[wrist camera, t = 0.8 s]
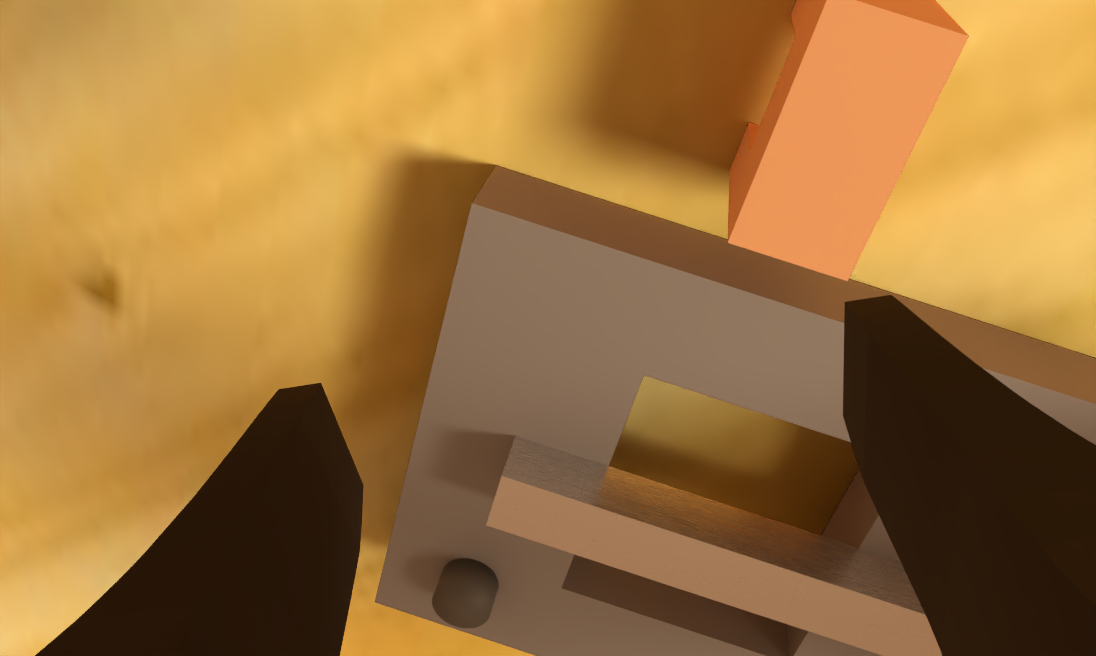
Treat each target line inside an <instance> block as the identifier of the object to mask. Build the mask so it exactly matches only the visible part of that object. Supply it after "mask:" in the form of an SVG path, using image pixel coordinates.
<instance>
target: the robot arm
mask: <svg viewBox="0 0 1096 656" xmlns="http://www.w3.org/2000/svg"><path fill="white" fill-rule="evenodd" d="M843 418H844V421H845V424H846V428H847V431H848V434H849V438H850V441H851V444H852V447H853V451H854V454H855V457H856V460H857V463H858V466H859V469H860V472H861V475H862V478H863V481H864V483H865V486H866V488H867V490H868V492H869V494H870V497H871V499H872V501H873V503H874V505H875V508H876V510H877V512H878V514H879V516H880V518H881V521H882V523H883V525H884V527H885V529H886V531H887V534H888V536H889V538H890V540H891V542H892V544H893V546H894V549H895V551H896V553H897V555H898V557H899V559H900V561H901V564H902V566H903V568H904V570H905V572H906V574H907V576H908V579H909V581H910V583H911V585H912V587H913V589H914V591H915V593H916V596H917V598H918V600H919V602H920V604H921V606H922V608H923V611H924V613H925V615H926V617H927V619H928V622H929V624H930V626H931V629H932V631H933V634H934V636H935V638H936V641H937V643H938V646H939V648H940V651H941V653H942V656H1096V445H1095V444H1093V443H1091V442H1090V441H1088V440H1086V439H1085V438H1083V437H1082V436H1080V435H1078V434H1077V433H1075V432H1073V431H1072V430H1070V429H1069V428H1067V427H1065V426H1064V425H1062V424H1061V423H1059V422H1058V421H1056V420H1055V419H1053V418H1052V417H1050V416H1049V415H1047V414H1046V413H1044V412H1043V411H1041V410H1040V409H1038V408H1037V407H1035V406H1034V405H1032V404H1031V403H1029V402H1028V401H1026V400H1025V399H1024V398H1022V397H1021V396H1019V395H1018V394H1017V393H1015V392H1014V391H1012V390H1011V389H1010V388H1008V387H1007V386H1006V385H1004V384H1003V383H1002V382H1000V381H999V380H998V379H996V378H995V377H994V376H992V375H991V374H990V373H988V372H987V371H986V370H984V369H983V368H982V367H980V366H979V365H978V364H976V363H975V362H974V361H973V360H971V359H970V358H969V357H968V356H966V355H965V354H964V353H962V352H961V351H960V350H959V349H957V348H956V347H955V346H954V345H953V344H951V343H950V342H949V341H948V340H946V339H945V338H944V337H943V336H941V335H940V334H939V333H938V332H937V331H935V330H934V329H933V328H932V327H930V326H929V325H928V324H927V323H926V322H924V321H923V320H922V319H921V318H920V317H918V316H917V315H916V314H915V313H914V312H912V311H911V310H910V309H909V308H907V307H906V306H905V305H904V304H903V303H901V302H900V301H899V300H898V299H896V298H895V297H894V296H892V295H886V296H879V297H873V298H866V299H860V300H853V301H847V302H845V307H844V371H843ZM362 503H363V483H362V481H361V478H360V476H359V474H358V471H357V469H356V466H355V464H354V462H353V459H352V457H351V454H350V452H349V450H348V447H347V445H346V442H345V440H344V437H343V435H342V433H341V430H340V428H339V425H338V423H337V421H336V418H335V416H334V413H333V411H332V409H331V406H330V404H329V401H328V399H327V396H326V394H325V392H324V389H323V387H322V384H321V383H317V384H310V385H304V386H297V387H291V388H285V389H279V390H278V391H277V392H276V393H275V395H274V396H273V397H272V398H271V399H270V401H269V402H268V403H267V404H266V406H265V407H264V408H263V410H262V411H261V412H260V413H259V415H258V416H257V417H256V419H255V420H254V421H253V422H252V424H251V425H250V426H249V428H248V429H247V430H246V432H245V433H244V434H243V435H242V437H241V438H240V439H239V441H238V442H237V443H236V445H235V446H234V447H233V448H232V450H231V451H230V452H229V454H228V455H227V456H226V457H225V459H224V460H223V461H222V462H221V464H220V465H219V466H218V467H217V469H216V470H215V471H214V472H213V474H212V475H211V476H210V477H209V479H208V480H207V481H206V482H205V484H204V485H203V486H202V487H201V489H200V490H199V491H198V492H197V494H196V495H195V496H194V497H193V498H192V500H191V501H190V502H189V503H188V504H187V505H186V506H185V508H184V509H183V510H182V511H181V512H180V513H179V514H178V516H177V517H176V518H175V519H174V520H173V521H172V522H171V524H170V525H169V526H168V527H167V528H166V529H165V530H164V532H163V533H162V534H161V535H160V536H159V537H158V538H157V540H156V541H155V542H154V543H153V544H152V545H151V546H150V548H149V549H148V550H147V551H146V552H145V553H144V554H143V555H142V556H141V557H140V558H139V560H138V561H137V562H136V563H135V564H134V565H133V566H132V567H131V568H130V569H129V570H128V571H127V572H126V573H125V574H124V575H123V576H122V577H121V578H120V579H119V580H118V581H117V582H116V583H115V584H114V585H113V586H112V587H111V588H110V589H109V590H108V591H107V592H106V593H105V594H104V595H103V596H102V597H101V598H100V599H99V600H97V601H96V602H95V603H94V604H93V605H92V606H91V607H90V608H89V609H88V610H87V611H86V612H85V613H84V614H83V615H82V616H81V617H79V618H78V619H77V620H76V621H75V622H74V623H73V624H72V625H70V626H69V627H68V628H67V629H66V630H65V631H63V632H62V633H61V634H60V635H59V636H58V637H56V638H55V639H54V640H53V641H52V642H51V643H49V644H48V645H47V646H46V647H45V648H44V649H42V650H41V651H40V652H39V653H38V654H36V655H35V656H340V651H341V646H342V641H343V636H344V631H345V626H346V621H347V615H348V610H349V605H350V600H351V595H352V590H353V584H354V579H355V574H356V568H357V563H358V557H359V552H360V539H361V525H362Z"/></svg>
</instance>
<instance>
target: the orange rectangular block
mask: <svg viewBox="0 0 1096 656" xmlns="http://www.w3.org/2000/svg"><path fill="white" fill-rule="evenodd" d="M791 18H792V23H793V27H794V31H795V36H796V37H795V39H794V42H793V44H792V47H791V49H790V52H789V54H788V57H787V59H786V62H785V64H784V67H783V69H782V72H781V74H780V77H779V79H778V82H777V84H776V87H775V89H774V92H773V94H772V97H771V99H770V102H769V104H768V107H767V109H766V112H765V114H764V117H763V119H762V122H761V124H760V126H759V125H756V124H753V123H750V122H749V123H748V125H747V128H746V131H745V133H744V136H743V138H742V141H741V143H740V146H739V148H738V151H737V154H736V156H735V159H734V161H733V164H732V166H731V169H730V173H729V213H728V243H730V244H733V245H736V246H739V247H743V248H746V249H749V250H752V251H755V252H758V253H761V254H764V255H767V256H771V257H774V258H777V259H780V260H783V261H786V262H789V263H792V264H795V265H799V266H802V267H805V268H808V269H811V270H814V271H817V272H820V273H823V274H826V275H830V276H833V277H836V278H839V279H842V280H845V281H848V279H849V277H850V275H851V273H852V271H853V269H854V267H855V265H856V263H857V261H858V259H859V257H860V255H861V253H862V251H863V249H864V247H865V245H866V243H867V241H868V239H869V237H870V235H871V233H872V231H873V229H874V227H875V225H876V223H877V221H878V219H879V217H880V215H881V213H882V211H883V209H884V207H885V205H886V203H887V201H888V199H889V197H890V194H891V192H892V190H893V188H894V186H895V184H896V182H897V180H898V178H899V176H900V174H901V172H902V170H903V168H904V166H905V164H906V162H907V160H908V158H909V156H910V154H911V152H912V150H913V148H914V146H915V144H916V142H917V140H918V138H919V136H920V134H921V132H922V130H923V128H924V126H925V124H926V122H927V120H928V118H929V116H930V114H931V112H932V110H933V108H934V106H935V104H936V102H937V99H938V97H939V95H940V93H941V91H942V89H943V87H944V85H945V83H946V81H947V79H948V77H949V75H950V73H951V71H952V69H953V67H954V65H955V63H956V61H957V59H958V57H959V55H960V53H961V51H962V49H963V47H964V45H965V43H966V41H967V39H968V37H969V36H968V35H967V34H966V33H965V31H964V30H963V29H962V28H961V27H960V26H959V25H958V24H957V23H956V22H955V21H954V20H953V19H952V18H951V17H950V16H949V14H948V13H947V12H946V11H945V10H944V9H943V8H942V7H941V6H940V5H939V4H938V3H937V2H936V1H935V0H796V3H795V6H794V8H793V11H792V13H791Z"/></svg>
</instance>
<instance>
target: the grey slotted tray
mask: <svg viewBox="0 0 1096 656" xmlns="http://www.w3.org/2000/svg"><path fill="white" fill-rule="evenodd" d="M886 295H892V296H894V297H895V298H896V299H898V300H899V301H900V302H901V303H903V304H904V305H905V306H906V307H907V308H909V309H910V310H911V311H912V312H914V313H915V314H916V315H917V316H918V317H920V318H921V319H922V320H923V321H924V322H926V323H927V324H928V325H929V326H930V327H932V328H933V329H934V330H935V331H937V332H938V333H939V334H940V335H941V336H943V337H944V338H945V339H946V340H948V341H949V342H950V343H951V344H953V345H954V346H955V347H956V348H957V349H959V350H960V351H961V352H962V353H964V354H965V355H966V356H968V357H969V358H970V359H971V360H973V361H974V362H975V363H976V364H978V365H979V366H980V367H982V368H983V369H984V370H986V371H987V372H988V373H990V374H991V375H992V376H994V377H995V378H996V379H998V380H999V381H1000V382H1002V383H1003V384H1004V385H1006V386H1007V387H1008V388H1010V389H1011V390H1012V391H1014V392H1015V393H1017V394H1018V395H1019V396H1021V397H1022V398H1024V399H1025V400H1026V401H1028V402H1029V403H1031V404H1032V405H1034V406H1035V407H1037V408H1038V409H1040V410H1041V411H1043V412H1044V413H1046V414H1047V415H1049V416H1050V417H1052V418H1053V419H1055V420H1056V421H1058V422H1059V423H1061V424H1062V425H1064V426H1065V427H1067V428H1069V429H1070V430H1072V431H1073V432H1075V433H1077V434H1078V435H1080V436H1082V437H1083V438H1085V439H1086V440H1088V441H1090V442H1091V443H1093V444H1095V445H1096V358H1093V357H1090V356H1087V355H1084V354H1081V353H1078V352H1074V351H1071V350H1068V349H1065V348H1062V347H1059V346H1056V345H1053V344H1050V343H1046V342H1043V341H1040V340H1037V339H1034V338H1031V337H1028V336H1025V335H1022V334H1018V333H1015V332H1012V331H1009V330H1006V329H1003V328H1000V327H997V326H994V325H991V324H987V323H984V322H981V321H978V320H975V319H972V318H969V317H966V316H963V315H959V314H956V313H953V312H950V311H947V310H944V309H941V308H938V307H935V306H931V305H928V304H925V303H922V302H919V301H916V300H913V299H910V298H907V297H903V296H900V295H897V294H894V293H891V292H888V291H885V290H882V289H879V288H875V287H872V286H869V285H866V284H863V283H860V282H857V281H854V280H851V279H848V281H845V280H842V279H839V278H836V277H833V276H830V275H826V274H823V273H820V272H817V271H814V270H811V269H808V268H805V267H802V266H799V265H795V264H792V263H789V262H786V261H783V260H780V259H777V258H774V257H771V256H767V255H764V254H761V253H758V252H755V251H752V250H749V249H746V248H743V247H739V246H736V245H733V244H730V243H728V240H726V239H723V238H720V237H717V236H714V235H711V234H708V233H705V232H701V231H698V230H695V229H692V228H689V227H686V226H683V225H680V224H677V223H673V222H670V221H667V220H664V219H661V218H658V217H655V216H652V215H649V214H645V213H642V212H639V211H636V210H633V209H630V208H627V207H624V206H621V205H617V204H614V203H611V202H608V201H605V200H602V199H599V198H596V197H593V196H590V195H586V194H583V193H580V192H577V191H574V190H571V189H568V188H565V187H562V186H558V185H555V184H552V183H549V182H546V181H543V180H540V179H537V178H534V177H530V176H527V175H524V174H521V173H518V172H515V171H512V170H509V169H506V168H502V167H499V166H496V167H495V168H494V170H493V171H492V173H491V174H490V176H489V177H488V179H487V180H486V182H485V183H484V185H483V187H482V188H481V190H480V191H479V193H478V194H477V196H476V197H475V199H474V200H473V202H472V204H471V208H470V212H469V217H468V221H467V225H466V229H465V233H464V237H463V241H462V245H461V249H460V254H459V258H458V262H457V266H456V270H455V274H454V278H453V282H452V287H451V291H450V295H449V299H448V303H447V307H446V311H445V315H444V319H443V324H442V328H441V332H440V336H439V340H438V344H437V348H436V352H435V356H434V361H433V365H432V369H431V373H430V377H429V381H428V385H427V389H426V393H425V398H424V402H423V406H422V410H421V414H420V418H419V422H418V426H417V430H416V435H415V439H414V443H413V447H412V451H411V455H410V459H409V463H408V468H407V472H406V476H405V480H404V484H403V488H402V492H401V496H400V500H399V505H398V509H397V513H396V517H395V521H394V525H393V529H392V533H391V537H390V542H389V546H388V550H387V554H386V558H385V562H384V566H383V570H382V574H381V579H380V583H379V587H378V591H377V595H376V599H375V602H376V603H379V604H382V605H385V606H388V607H391V608H394V609H397V610H400V611H403V612H406V613H409V614H412V615H415V616H418V617H421V618H424V619H427V620H430V621H433V622H436V623H439V624H442V625H445V626H448V627H451V628H454V629H457V630H460V631H463V632H466V633H469V634H472V635H475V636H478V637H481V638H484V639H487V640H490V641H494V642H497V643H500V644H503V645H506V646H509V647H512V648H515V649H518V650H521V651H524V652H527V653H530V654H533V655H536V656H942V653H941V651H940V648H939V646H938V643H937V641H936V638H935V636H934V634H933V631H932V629H931V626H930V624H929V622H928V619H927V617H926V615H925V613H924V611H923V608H922V606H921V604H920V602H919V600H918V598H917V596H916V593H915V591H914V589H913V587H912V585H911V583H910V581H909V579H908V576H907V574H906V572H905V570H904V568H903V566H902V564H901V561H900V559H899V557H898V555H897V553H896V551H895V549H894V546H893V544H892V542H891V540H890V538H889V536H888V534H887V531H886V529H885V527H884V525H883V523H882V521H881V518H880V516H879V514H878V512H877V510H876V508H875V505H874V503H873V501H872V499H871V497H870V494H869V492H868V490H867V488H866V486H865V483H864V481H863V478H862V475H861V472H860V469H859V470H858V472H857V474H856V475H855V477H854V479H853V481H852V482H851V484H850V486H849V488H848V489H847V491H846V493H845V495H844V496H843V498H842V500H841V502H840V503H839V505H838V507H837V509H836V510H835V512H834V514H833V516H832V517H831V519H830V521H829V523H828V524H827V526H826V528H825V530H824V531H823V533H822V535H818V534H815V533H812V532H809V531H806V530H803V529H800V528H797V527H794V526H791V525H788V524H785V523H782V522H778V521H775V520H772V519H769V518H766V517H763V516H760V515H757V514H754V513H751V512H748V511H745V510H742V509H739V508H736V507H733V506H729V505H726V504H723V503H720V502H717V501H714V500H711V499H708V498H705V497H702V496H699V495H696V494H693V493H690V492H687V491H684V490H681V489H677V488H674V487H671V486H668V485H665V484H662V483H659V482H656V481H653V480H650V479H647V478H644V477H641V476H638V475H635V474H632V473H628V472H625V471H622V470H619V469H616V468H613V467H610V466H609V464H610V462H611V459H612V457H613V454H614V451H615V449H616V446H617V444H618V441H619V439H620V436H621V433H622V431H623V428H624V426H625V423H626V420H627V418H628V415H629V413H630V410H631V408H632V405H633V402H634V400H635V397H636V395H637V392H638V390H639V387H640V384H641V382H642V379H643V377H644V375H645V376H648V377H651V378H654V379H657V380H660V381H663V382H666V383H670V384H673V385H676V386H679V387H682V388H685V389H688V390H691V391H694V392H697V393H700V394H703V395H707V396H710V397H713V398H716V399H719V400H722V401H725V402H728V403H731V404H734V405H737V406H740V407H743V408H747V409H750V410H753V411H756V412H759V413H762V414H765V415H768V416H771V417H774V418H777V419H780V420H784V421H787V422H790V423H793V424H796V425H799V426H802V427H805V428H808V429H811V430H814V431H817V432H820V433H824V434H827V435H830V436H833V437H836V438H839V439H842V440H845V441H848V442H851V441H850V438H849V434H848V431H847V428H846V424H845V421H844V418H843V371H844V307H845V302H847V301H853V300H860V299H866V298H873V297H879V296H886Z"/></svg>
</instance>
